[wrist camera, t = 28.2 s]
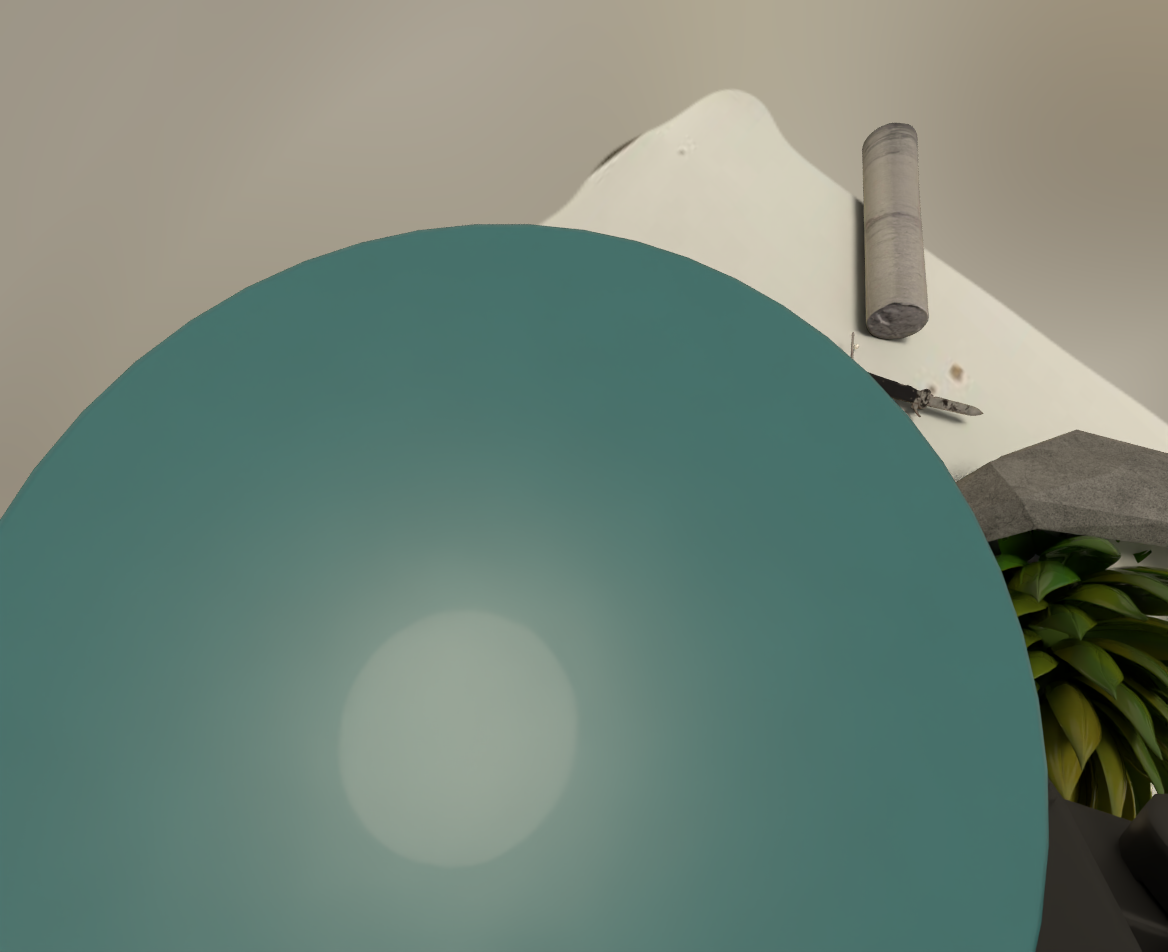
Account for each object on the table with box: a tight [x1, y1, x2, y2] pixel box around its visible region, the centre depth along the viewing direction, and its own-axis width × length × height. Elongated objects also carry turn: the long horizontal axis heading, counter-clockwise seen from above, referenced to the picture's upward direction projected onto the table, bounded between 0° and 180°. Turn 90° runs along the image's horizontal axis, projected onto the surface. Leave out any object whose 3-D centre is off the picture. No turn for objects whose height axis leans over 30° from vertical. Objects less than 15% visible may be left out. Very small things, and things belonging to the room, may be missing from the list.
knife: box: [851, 332, 983, 417], centre depth 28 cm, size 6×1×3 cm
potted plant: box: [955, 430, 1168, 821], centre depth 19 cm, size 12×13×15 cm
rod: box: [862, 123, 929, 339], centre depth 30 cm, size 12×3×3 cm, turn 171°
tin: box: [0, 224, 1049, 952], centre depth 9 cm, size 6×6×11 cm
